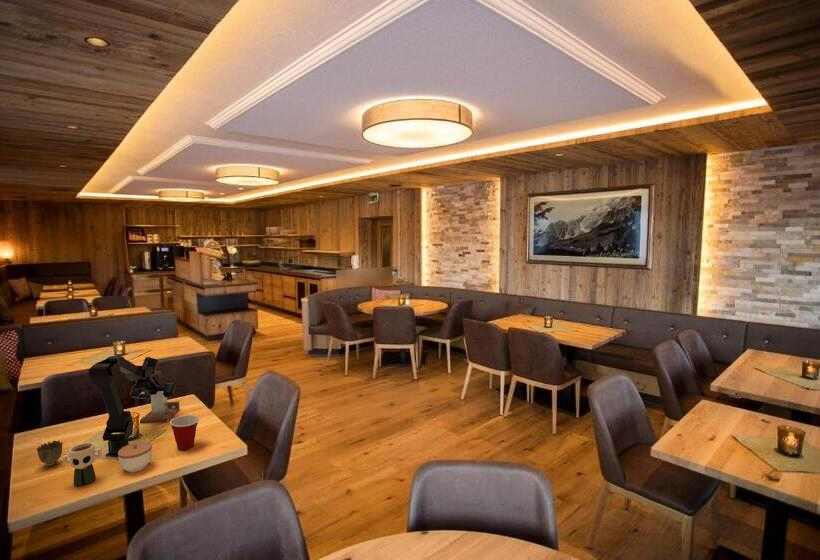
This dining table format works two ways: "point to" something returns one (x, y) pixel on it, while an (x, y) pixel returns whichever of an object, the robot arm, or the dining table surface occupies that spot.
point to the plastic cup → (184, 431)
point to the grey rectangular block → (159, 404)
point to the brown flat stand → (172, 410)
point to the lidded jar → (135, 456)
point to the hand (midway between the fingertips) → (160, 397)
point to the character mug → (83, 462)
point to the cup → (50, 453)
